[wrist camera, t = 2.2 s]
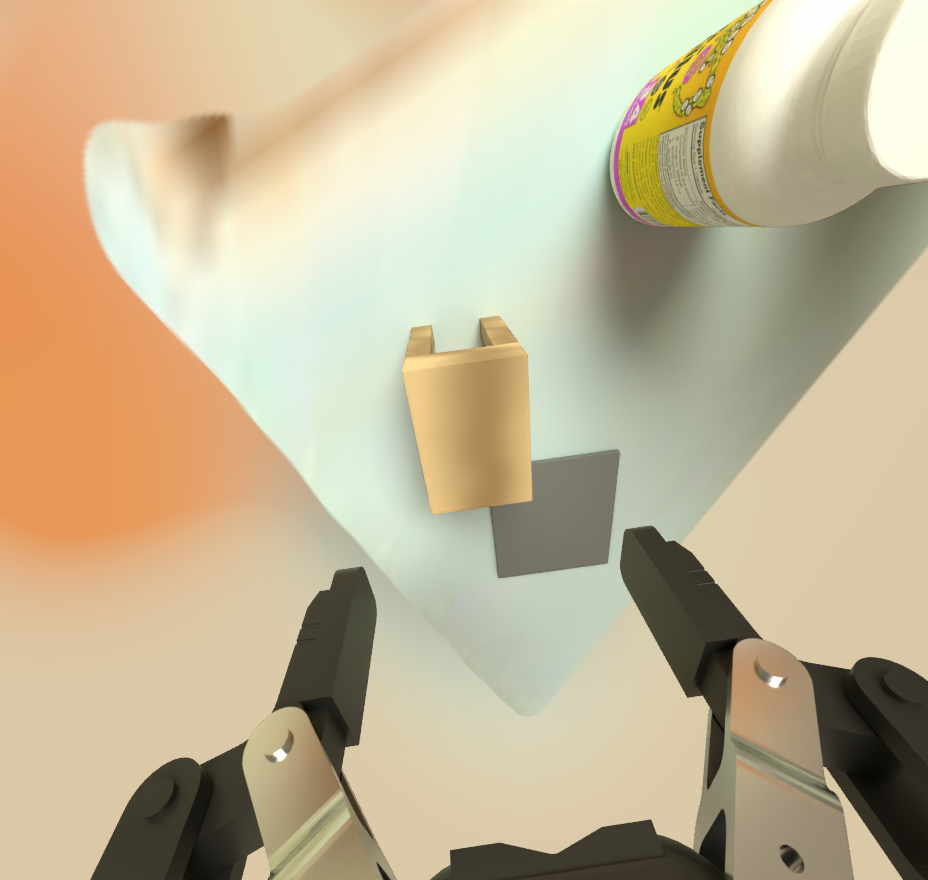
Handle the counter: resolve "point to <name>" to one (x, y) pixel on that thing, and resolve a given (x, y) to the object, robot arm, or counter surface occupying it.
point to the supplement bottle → (780, 117)
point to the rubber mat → (559, 516)
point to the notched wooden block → (471, 419)
